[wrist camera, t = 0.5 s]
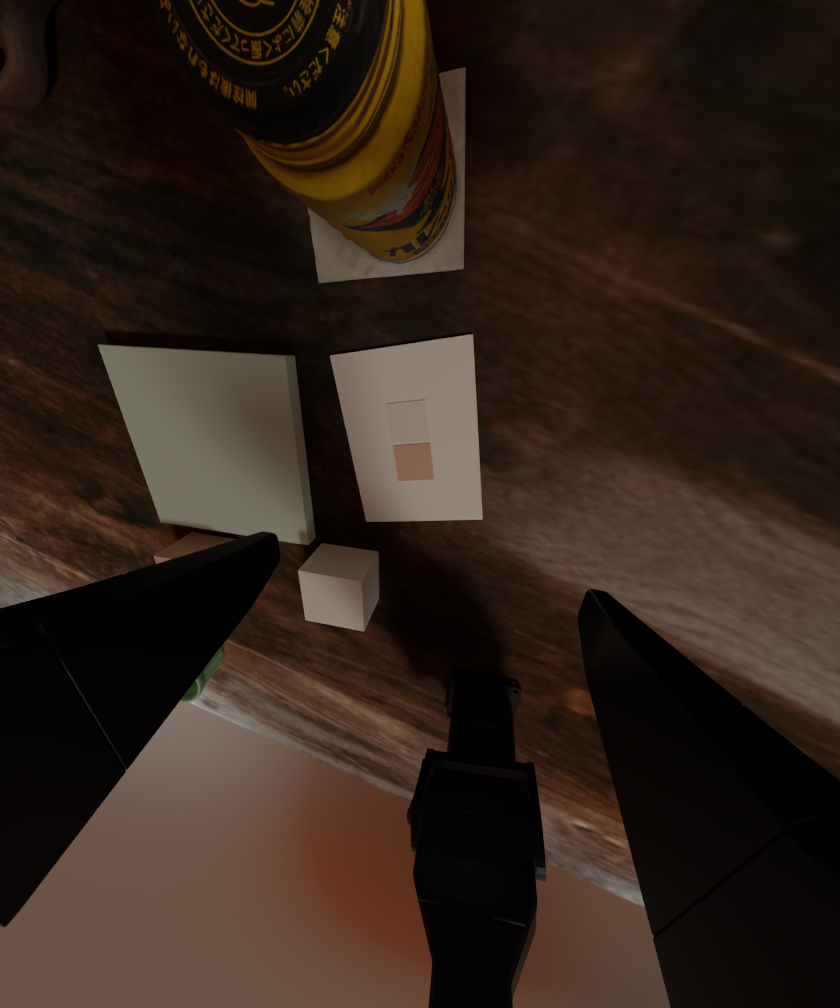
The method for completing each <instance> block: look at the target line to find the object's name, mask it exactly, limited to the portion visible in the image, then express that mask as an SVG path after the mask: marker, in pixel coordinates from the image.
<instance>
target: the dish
mask: <svg viewBox="0 0 840 1008" xmlns="http://www.w3.org/2000/svg"><path fill="white" fill-rule="evenodd" d="M58 1H59V0H0V38H1V40H2V42H3V47H4V51H5V56H6V59H5V64H4V66H3V68H2V70H1V72H0V102H2V103H5V104H8V105H11V106H13V107H15V108H19V109H24V110H27V109H32V108H35V107H38V106H39V104H40V103H41V101H42V100H43V98H44V97H45V95H46V94H47V89H48V77H49V70H48V59H47V47H46V36H45V34H46V25H47V19H48V17H49V14H50V11H51V10H52V8H53V7H54V5H55V4H56V3H57V2H58Z"/></svg>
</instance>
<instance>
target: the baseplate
mask: <svg viewBox="0 0 840 1008" xmlns="http://www.w3.org/2000/svg"><path fill="white" fill-rule="evenodd" d="M98 347H99V349H100V352H101V355H102V358H103V361H104V364H105V366H106V369H107V372H108V375H109V378H110V380H111V383H112V386H113V389H114V392H115V395H116V397H117V400H118V403H119V406H120V409H121V411H122V414H123V417H124V420H125V423H126V426H127V428H128V431H129V434H130V437H131V440H132V442H133V445H134V448H135V451H136V454H137V456H138V459H139V462H140V465H141V468H142V471H143V473H144V476H145V479H146V482H147V485H148V487H149V490H150V493H151V496H152V499H153V502H154V504H155V507H156V510H157V513H158V516H159V518H160V521H161V522H163V523H169V524H175V525H182V526H188V527H195V528H201V529H208V530H214V531H220V532H227V533H233V534H240V535H246V536H248V535H252V534H255V533H258V532H262V531H265V532H271V533H275V534H276V535H277V537H278V541H285V542H291V543H297V544H304V545H309V544H310V543H311V542H312V541H313V540H314V539H315V538H316V536H315V527H314V519H313V510H312V501H311V493H310V484H309V475H308V466H307V458H306V449H305V440H304V431H303V423H302V414H301V405H300V397H299V388H298V379H297V370H296V362H295V356H292V355H276V354H259V353H242V352H225V351H208V350H191V349H175V348H158V347H141V346H124V345H98Z"/></svg>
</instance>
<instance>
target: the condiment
mask: <svg viewBox="0 0 840 1008" xmlns="http://www.w3.org/2000/svg"><path fill="white" fill-rule="evenodd" d="M150 3H151V5H152V8H153V11H154V13H155V16H156V19H157V21H158V24H159V27H160V29H161V31H162V33H163V36H164V39H165V41H166V43H167V45H168V47H169V49H170V51H171V53H172V55H173V57H174V58H175V60H176V61H177V63H178V64H179V66H180V67H181V68H182V70H183V71H184V73H185V74H186V75H187V77H188V78H189V80H190V81H191V83H192V84H193V85H194V86H195V88H196V89H197V91H198V92H199V94H200V95H201V97H202V98H203V100H204V101H205V102H206V104H207V105H208V106H209V107H210V108H211V109H212V111H213V112H214V113H216V114H218V115H220V116H221V117H223V118H224V119H225V120H226V122H227V123H228V124H229V125H231V126H232V127H233V128H235V129H236V130H237V132H238V133H239V134H240V135H241V136H242V137H243V138H244V139H245V141H246V142H247V144H248V146H249V148H250V150H251V151H252V152H253V153H254V155H255V156H256V157H257V158H258V160H259V161H260V163H261V165H263V167H264V168H265V169H266V170H267V171H268V172H269V173H270V174H271V175H272V176H273V177H274V178H276V179H277V180H278V182H279V183H280V184H281V186H282V187H283V188H284V189H285V190H286V191H287V192H288V193H289V194H291V195H292V196H293V197H295V198H297V199H300V200H301V201H302V202H303V203H304V204H305V206H307V207H308V212H309V215H310V225H311V233H312V241H313V246H314V252H315V258H316V259H315V261H316V268H317V275H318V281H319V283H325V282H334V281H345V280H355V279H365V278H376V277H388V276H400V275H409V274H419V273H430V272H439V271H450V270H458V269H464V202H465V78H466V67H464V68H459V69H455V70H451V71H447V72H443V73H438V67H437V63H436V59H435V54H434V50H433V44H432V37H431V29H430V20H429V15H428V9H427V5H426V1H425V0H150Z"/></svg>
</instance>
